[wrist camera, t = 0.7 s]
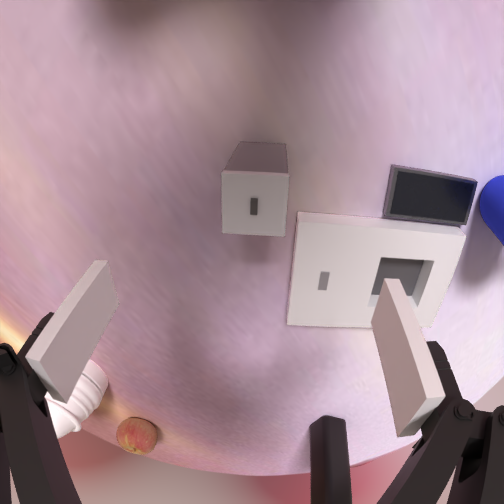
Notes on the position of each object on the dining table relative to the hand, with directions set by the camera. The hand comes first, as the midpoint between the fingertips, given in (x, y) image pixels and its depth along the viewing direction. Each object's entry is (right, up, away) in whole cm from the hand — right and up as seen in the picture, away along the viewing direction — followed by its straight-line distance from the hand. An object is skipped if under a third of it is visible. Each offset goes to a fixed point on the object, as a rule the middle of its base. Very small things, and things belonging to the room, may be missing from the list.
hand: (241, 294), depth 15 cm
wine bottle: (+15, -31, +41) cm, 54 cm away
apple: (-24, -36, +47) cm, 64 cm away
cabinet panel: (+15, 0, +23) cm, 27 cm away
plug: (+1, +11, +17) cm, 21 cm away
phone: (+20, +8, +17) cm, 28 cm away
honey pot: (-33, -21, +40) cm, 56 cm away
